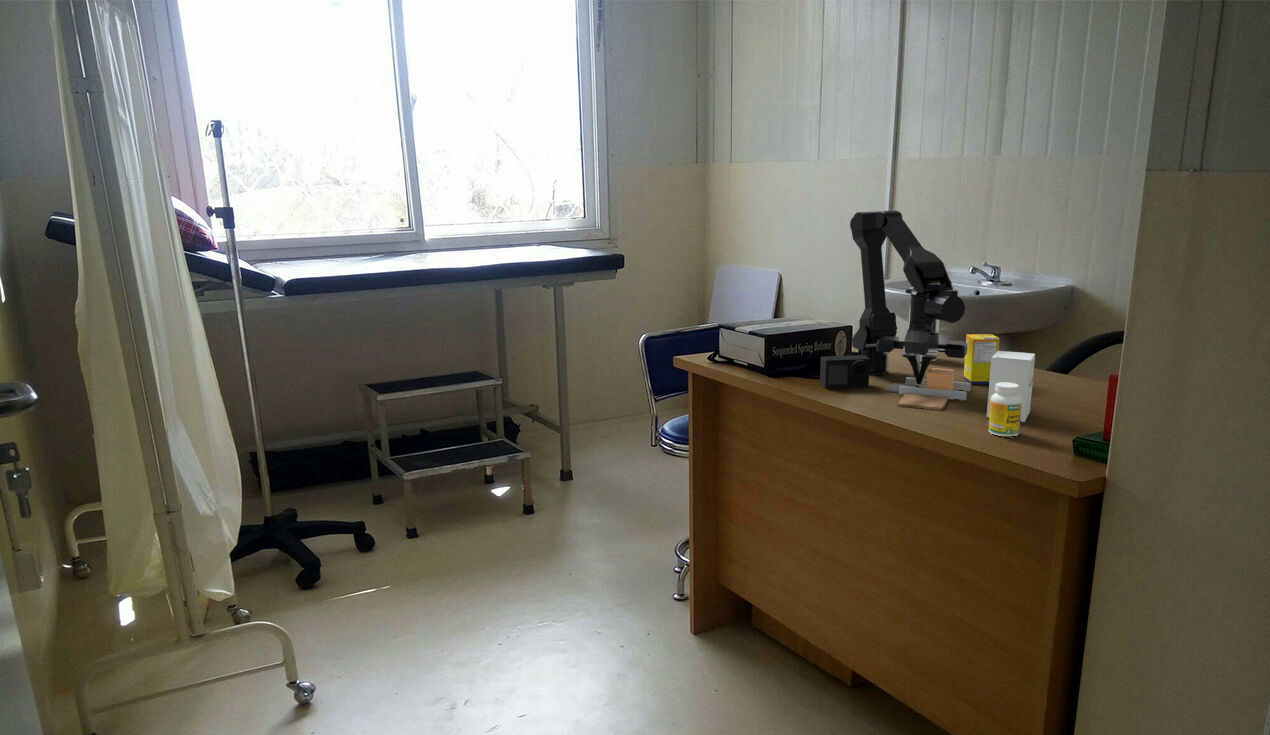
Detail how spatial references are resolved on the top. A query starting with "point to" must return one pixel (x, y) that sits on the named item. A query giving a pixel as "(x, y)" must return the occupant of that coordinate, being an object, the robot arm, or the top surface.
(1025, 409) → the supplement box
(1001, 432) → the supplement bottle
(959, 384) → the channel
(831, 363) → the digital camera
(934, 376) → the block
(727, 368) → the top surface
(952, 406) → the top surface
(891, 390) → the mat
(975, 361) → the supplement box
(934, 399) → the coaster
